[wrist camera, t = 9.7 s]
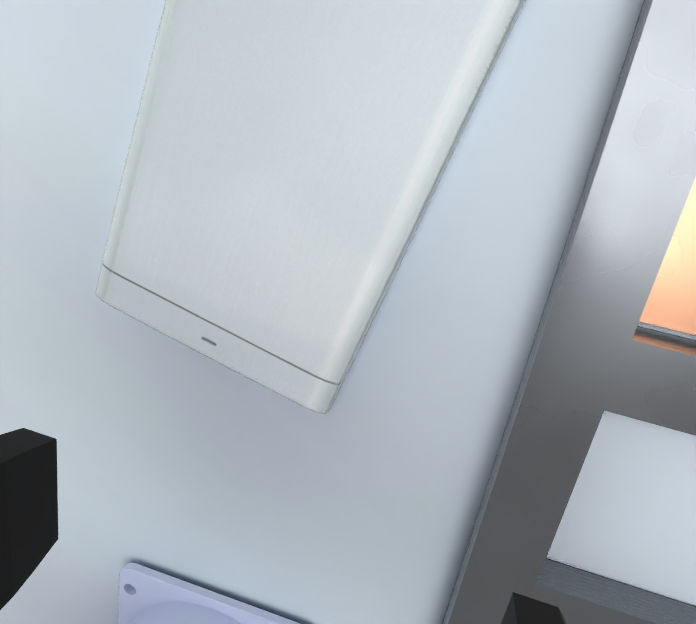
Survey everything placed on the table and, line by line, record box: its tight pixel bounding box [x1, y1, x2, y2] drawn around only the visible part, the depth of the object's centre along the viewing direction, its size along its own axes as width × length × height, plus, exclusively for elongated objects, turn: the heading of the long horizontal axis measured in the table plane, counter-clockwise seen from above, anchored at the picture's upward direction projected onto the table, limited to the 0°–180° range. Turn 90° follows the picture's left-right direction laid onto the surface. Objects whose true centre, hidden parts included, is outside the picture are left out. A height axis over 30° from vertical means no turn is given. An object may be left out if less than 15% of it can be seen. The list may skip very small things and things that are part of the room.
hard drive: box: [95, 0, 525, 414], centre depth 17 cm, size 2×8×12 cm
